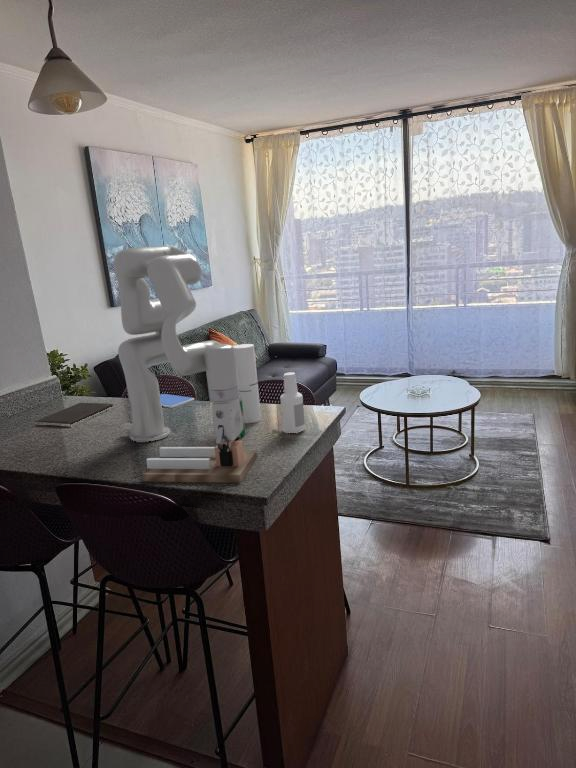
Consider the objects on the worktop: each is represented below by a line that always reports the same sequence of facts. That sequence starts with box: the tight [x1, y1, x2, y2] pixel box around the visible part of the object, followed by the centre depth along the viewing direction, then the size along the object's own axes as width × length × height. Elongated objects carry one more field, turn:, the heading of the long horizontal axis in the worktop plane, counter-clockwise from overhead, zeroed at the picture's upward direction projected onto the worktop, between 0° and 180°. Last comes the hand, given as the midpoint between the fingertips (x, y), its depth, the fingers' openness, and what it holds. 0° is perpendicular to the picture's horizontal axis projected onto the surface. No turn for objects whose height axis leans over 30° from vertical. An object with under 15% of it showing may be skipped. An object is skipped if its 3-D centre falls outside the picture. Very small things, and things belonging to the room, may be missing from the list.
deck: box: [141, 450, 258, 484], centre depth 145 cm, size 26×16×2 cm, turn 78°
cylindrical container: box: [232, 343, 262, 424], centre depth 180 cm, size 7×7×25 cm
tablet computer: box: [160, 393, 195, 409], centre depth 216 cm, size 19×13×1 cm, turn 53°
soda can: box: [239, 396, 246, 438], centre depth 168 cm, size 5×5×12 cm
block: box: [213, 440, 245, 466], centre depth 142 cm, size 6×5×5 cm
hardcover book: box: [35, 402, 114, 425], centre depth 205 cm, size 16×23×2 cm
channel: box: [146, 446, 215, 469], centre depth 145 cm, size 17×9×2 cm, turn 78°
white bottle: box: [279, 371, 306, 435], centre depth 167 cm, size 7×7×18 cm
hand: (231, 459), depth 142 cm, fingers open, 6 cm apart
